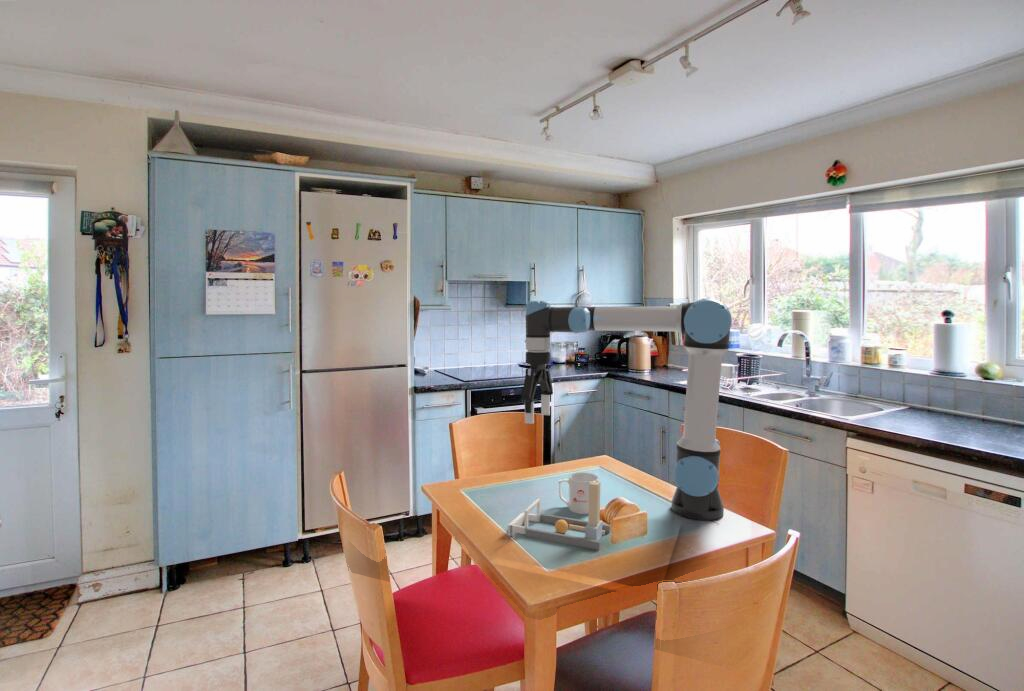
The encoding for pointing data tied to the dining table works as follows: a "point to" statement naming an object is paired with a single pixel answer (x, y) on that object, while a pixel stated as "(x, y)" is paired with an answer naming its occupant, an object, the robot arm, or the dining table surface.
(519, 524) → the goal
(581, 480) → the mug
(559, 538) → the pitch side rails
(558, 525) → the ball
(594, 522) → the post
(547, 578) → the dining table surface
